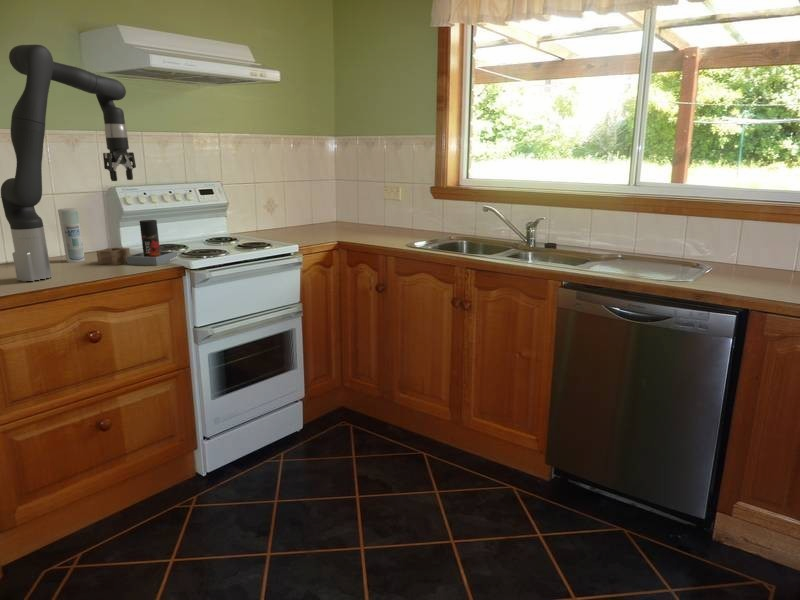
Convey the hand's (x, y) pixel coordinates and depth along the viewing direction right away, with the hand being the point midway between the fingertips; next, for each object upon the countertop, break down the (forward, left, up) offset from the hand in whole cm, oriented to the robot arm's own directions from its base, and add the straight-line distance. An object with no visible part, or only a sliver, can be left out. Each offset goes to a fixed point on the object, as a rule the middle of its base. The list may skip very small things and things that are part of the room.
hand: (122, 180), depth 225 cm
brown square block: (-10, 0, -30) cm, 32 cm away
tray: (-6, -14, -30) cm, 34 cm away
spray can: (-10, +18, -30) cm, 37 cm away
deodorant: (-6, -14, -30) cm, 33 cm away
